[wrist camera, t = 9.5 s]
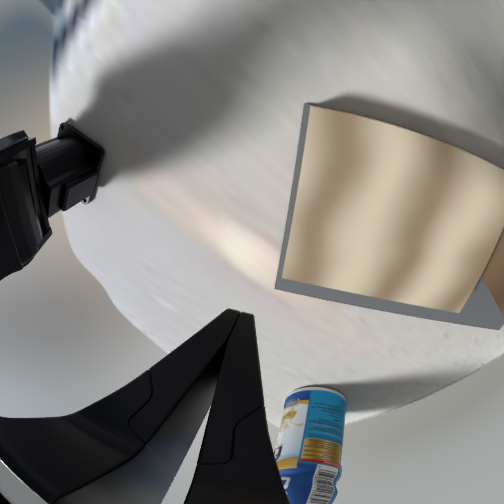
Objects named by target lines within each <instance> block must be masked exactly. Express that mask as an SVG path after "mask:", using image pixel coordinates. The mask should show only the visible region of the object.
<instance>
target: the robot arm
mask: <svg viewBox="0 0 504 504" xmlns="http://www.w3.org/2000/svg"><path fill="white" fill-rule="evenodd" d="M35 144H36V137H33V138H28V136H27V135H26V133H25V132H24V130H22V131H19V132H16V133H13V134H11V135H8V136H6V137H3V138H1V139H0V280H2V279H3V278H5V277H6V276H8V275H10V274H12V273H14V272H17V271H19V270H21V269H23V267H25V266H26V265H27V264H29V263H30V261H31V260H32V259H33V258H34V256H35V255H36V253H37V252H38V251H39V250H40V248H41V247H42V246H43V244H44V243H45V242H46V241H47V240H48V238H49V237H50V236H51V235H52V229H51V227H50V225H49V221H48V218H49V217H51V216H52V215H54V214H55V213H57V212H58V211H60V210H62V211H66V210H68V209H69V208H71V207H73V206H74V205H76V204H77V203H79V202H82V203H83V204H85V205H87V204H88V203H90V201H91V198H92V194H93V192H94V188H95V185H96V181H97V178H98V174H99V169H100V166H101V163H102V159H103V156H104V150H103V148H102V147H101V146H99V145H98V144H96V143H95V142H94V141H92V140H91V139H89V138H88V137H86V136H85V135H84V134H82V133H81V132H79V131H78V130H77V129H75V128H74V127H72V126H71V125H70V124H68V123H67V122H64V123H61V124H60V127H59V131H58V135H57V137H56V138H53V139H51V140H48V141H45V142H43V143H40V144H38V145H35ZM98 151H99V153H98ZM149 370H150V371H149ZM149 370H146V371H145V372H144V373H143V374H141V375H140V376H138V377H137V378H136V379H134V380H133V381H131V382H130V383H128V384H127V385H125V386H124V387H122V388H120V389H119V390H117V391H115V392H113V393H112V394H110V395H108V396H106V397H104V398H103V399H101V400H99V401H97V402H95V403H93V404H91V405H90V406H88V407H86V408H84V409H82V410H80V411H78V412H75V413H73V414H70V415H66V416H61V417H45V418H44V417H43V418H6V417H0V504H161V502H162V500H163V498H164V497H165V495H166V493H167V491H168V489H169V487H170V485H171V483H172V482H173V480H174V477H175V476H176V474H177V472H178V470H179V468H180V466H181V464H182V462H183V460H184V458H185V456H186V454H187V452H188V450H189V448H190V446H191V444H192V442H193V440H194V438H195V436H196V434H197V432H198V430H199V428H200V426H201V424H202V422H203V420H204V418H205V416H206V414H207V412H208V410H209V408H210V406H211V408H210V412H209V416H208V421H207V425H206V429H205V433H204V437H203V441H202V445H201V449H200V453H199V458H198V461H197V466H196V469H195V473H194V477H193V480H192V483H191V486H190V488H189V491H188V494H187V496H186V499H185V501H184V504H290V501H289V499H288V497H287V494H286V491H285V488H284V486H283V482H282V479H281V476H280V472H279V469H278V466H277V462H276V459H275V456H274V452H273V449H272V445H271V441H270V437H269V433H268V426H267V420H266V412H265V406H264V396H263V388H262V379H261V371H260V362H259V354H258V345H257V337H256V328H255V320H254V315H253V314H250V313H246V312H241V313H240V311H238V310H234V309H226V310H225V311H224V312H222V313H221V314H220V315H219V316H217V317H216V318H215V319H214V320H212V321H211V322H210V323H208V324H207V325H206V326H205V327H203V328H202V329H201V330H199V331H198V332H197V333H196V334H194V335H193V336H192V337H190V338H189V339H188V340H186V341H185V342H184V343H183V344H181V345H180V346H179V347H177V348H176V349H175V350H173V351H172V352H171V353H169V354H168V355H167V356H165V357H164V358H163V359H161V360H160V361H159V362H157V363H156V364H155V365H153V366H152V367H151V368H150V369H149Z"/></svg>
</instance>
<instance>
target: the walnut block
mask: <svg viewBox="0 0 504 504" xmlns="http://www.w3.org/2000/svg"><path fill="white" fill-rule="evenodd" d="M481 277H482V279H483V280H484V282H485V284H486V285H487V287H488V289H489V291H490V293H491V294H492V296H493V298H494V300H495V302H496V304H497V305H498V307H499V309H500V311H501V313H502V315H503V317H504V228H503V230H502V233H501V235H500V237H499V240H498V242H497V244H496V246H495V248H494V251H493V253H492V255H491V257H490V259H489V261H488V263H487V265H486V267H485V269H484V271H483V273H482V275H481Z"/></svg>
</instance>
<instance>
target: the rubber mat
mask: <svg viewBox="0 0 504 504" xmlns="http://www.w3.org/2000/svg"><path fill="white" fill-rule="evenodd" d="M310 106H312V105H308V104H304V109H303V116H302V123H301V131H300V138H299V144H298V151H297V158H296V165H295V171H294V178H293V184H292V190H291V197H290V203H289V209H288V215H287V221H286V227H285V233H284V239H283V244H282V250H281V256H280V261H279V267H278V272H277V278H276V283H275V289H277V290H282V291H286V292H291V293H296V294H300V295H305V296H310V297H314V298H319V299H324V300H329V301H334V302H339V303H344V304H349V305H354V306H359V307H364V308H369V309H375V310H380V311H385V312H391V313H396V314H402V315H407V316H413V317H419V318H425V319H431V320H436V321H443V322H449V323H455V324H461V325H468V326H474V327H481V328H488V329H495V330H500V328H501V327H502V326H503V324H504V317H503V315H502V313H501V311H500V309H499V307H498V305H497V304H496V302H495V300H494V298H493V296H492V294H491V293H490V291H489V289H488V287H487V285H486V284H485V282H484V280H483V279H482V277H481V276H480V278H479V280H478V282H477V284H476V286H475V287H474V289H473V291H472V293H471V294H470V296H469V298H468V299H467V301H466V303H465V304H464V306H463V308H462V309H461V311H460V312H459V313H455V312H449V311H444V310H438V309H433V308H428V307H422V306H417V305H412V304H407V303H401V302H396V301H391V300H386V299H381V298H376V297H371V296H366V295H361V294H356V293H351V292H346V291H341V290H336V289H332V288H327V287H322V286H317V285H312V284H308V283H303V282H298V281H294V280H289V279H284V278H282V273H283V268H284V263H285V257H286V252H287V247H288V241H289V236H290V230H291V225H292V219H293V214H294V208H295V202H296V196H297V190H298V184H299V178H300V172H301V166H302V160H303V153H304V147H305V140H306V133H307V127H308V120H309V113H310ZM313 106H314V105H313ZM319 107H320V106H319ZM324 108H325V107H324ZM329 109H330V108H329ZM334 110H335V109H334ZM343 112H344V111H343ZM352 114H353V113H352ZM356 115H357V114H356ZM360 116H361V115H360ZM364 117H365V116H364ZM368 118H369V117H368ZM372 119H373V118H372ZM379 121H380V120H379ZM383 122H384V121H383ZM393 125H394V124H393ZM403 128H404V127H403ZM406 129H407V128H406ZM409 130H410V129H409ZM412 131H413V130H412ZM415 132H416V131H415ZM418 133H419V132H418ZM421 134H422V133H421ZM432 138H433V137H432ZM440 141H441V140H440ZM445 143H446V142H445ZM450 145H451V144H450ZM455 147H456V146H455ZM462 150H463V149H462ZM469 153H470V152H469ZM471 154H472V153H471ZM480 158H481V157H480ZM482 159H483V158H482ZM484 160H485V159H484ZM486 161H487V160H486ZM500 168H501V167H500ZM502 169H503V168H502Z"/></svg>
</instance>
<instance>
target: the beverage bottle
mask: <svg viewBox="0 0 504 504" xmlns="http://www.w3.org/2000/svg"><path fill="white" fill-rule="evenodd" d="M346 409H347V401H346V399H345V397H344V396H343V395H342V394H341V393H339V392H337V391H335V390H332V389H329V388H324V387H305V388H300V389H297V390H295V391H293V392H291V393H290V394H289V395H288V396H287V397H286V400H285V404H284V413H283V417H282V422H281V426H280V431H279V435H278V439H277V443H276V447H275V451H274V456H275V459H276V462H277V466H278V469H279V472H280V476H281V479H282V482H283V486H284V488H285V491H286V494H287V497H288V499H289V501H290V504H332V502H333V501H334V499H335V497H336V495H337V488H336V483H337V481H338V480H339V478H340V476H341V472H342V467H341V455H342V445H343V434H344V423H345V414H346Z"/></svg>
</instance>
